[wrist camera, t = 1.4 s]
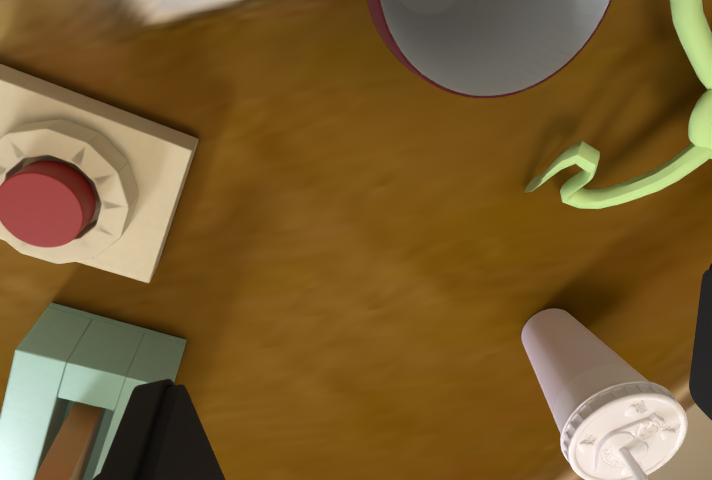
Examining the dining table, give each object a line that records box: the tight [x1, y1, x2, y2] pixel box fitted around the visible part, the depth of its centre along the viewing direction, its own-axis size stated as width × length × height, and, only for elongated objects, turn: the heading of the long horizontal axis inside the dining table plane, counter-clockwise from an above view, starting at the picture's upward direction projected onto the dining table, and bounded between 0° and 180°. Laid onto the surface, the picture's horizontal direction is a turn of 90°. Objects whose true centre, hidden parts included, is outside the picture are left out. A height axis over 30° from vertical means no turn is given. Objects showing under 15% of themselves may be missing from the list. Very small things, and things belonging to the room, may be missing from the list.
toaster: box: [0, 303, 187, 480], centre depth 33 cm, size 8×17×4 cm, turn 156°
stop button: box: [0, 160, 96, 248], centre depth 24 cm, size 4×4×2 cm
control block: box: [0, 64, 199, 283], centre depth 26 cm, size 10×8×4 cm
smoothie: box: [521, 308, 687, 480], centre depth 30 cm, size 6×6×14 cm
